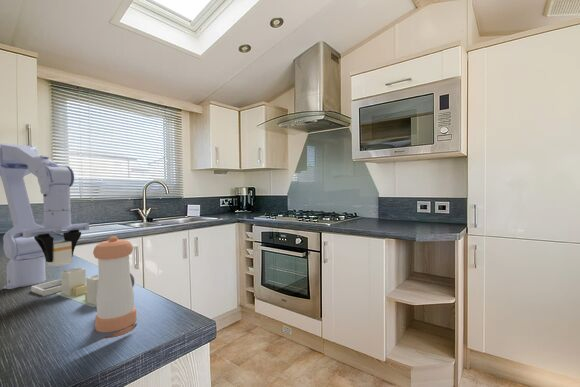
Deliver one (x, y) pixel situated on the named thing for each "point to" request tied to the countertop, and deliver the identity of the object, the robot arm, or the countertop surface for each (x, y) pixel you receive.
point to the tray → (40, 288)
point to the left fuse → (72, 279)
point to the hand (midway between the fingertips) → (59, 259)
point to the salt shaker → (114, 288)
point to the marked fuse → (61, 253)
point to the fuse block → (78, 295)
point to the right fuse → (92, 288)
